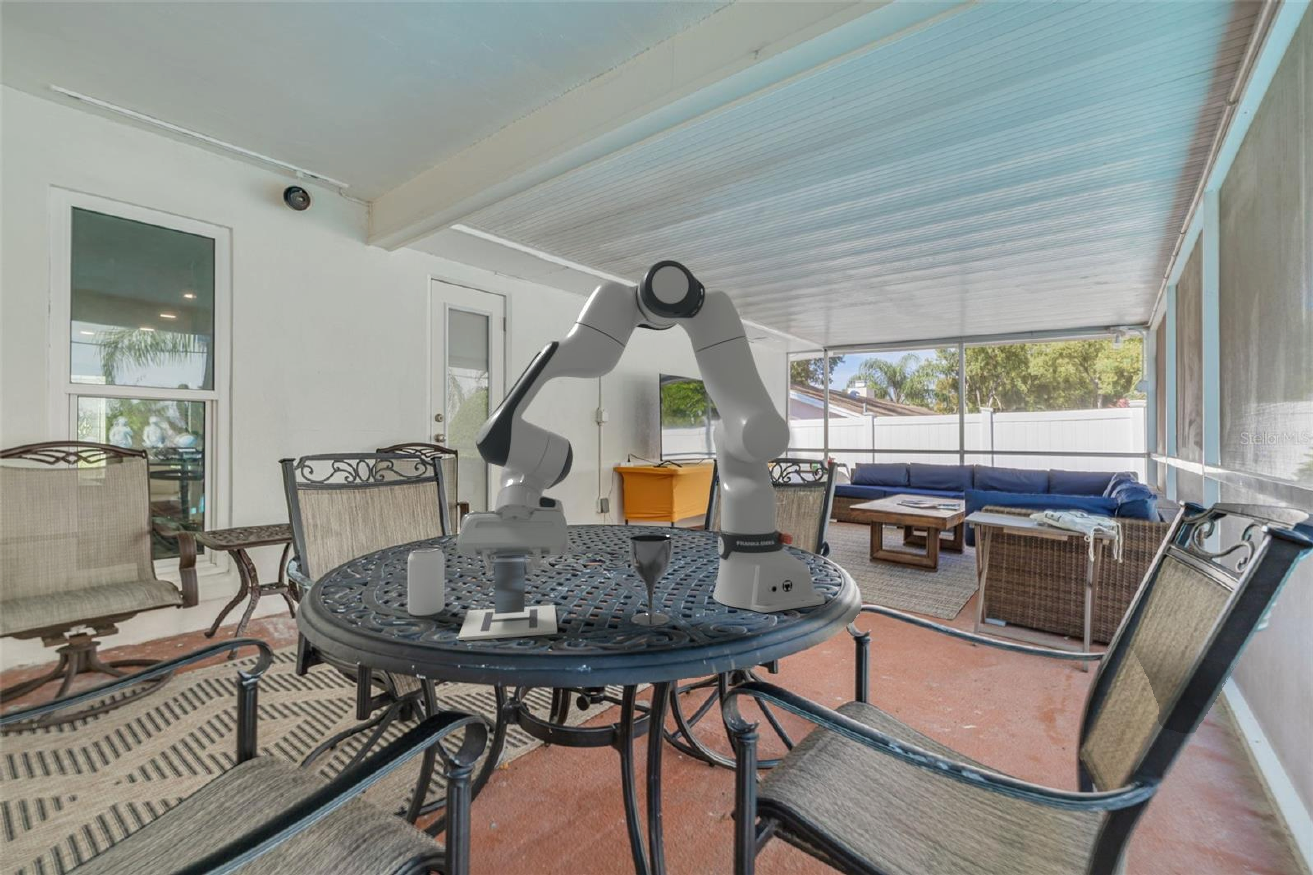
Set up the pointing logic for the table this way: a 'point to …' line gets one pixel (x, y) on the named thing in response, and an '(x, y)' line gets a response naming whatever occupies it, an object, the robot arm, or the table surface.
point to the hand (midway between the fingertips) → (509, 574)
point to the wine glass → (650, 569)
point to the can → (425, 581)
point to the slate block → (509, 584)
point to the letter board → (509, 623)
